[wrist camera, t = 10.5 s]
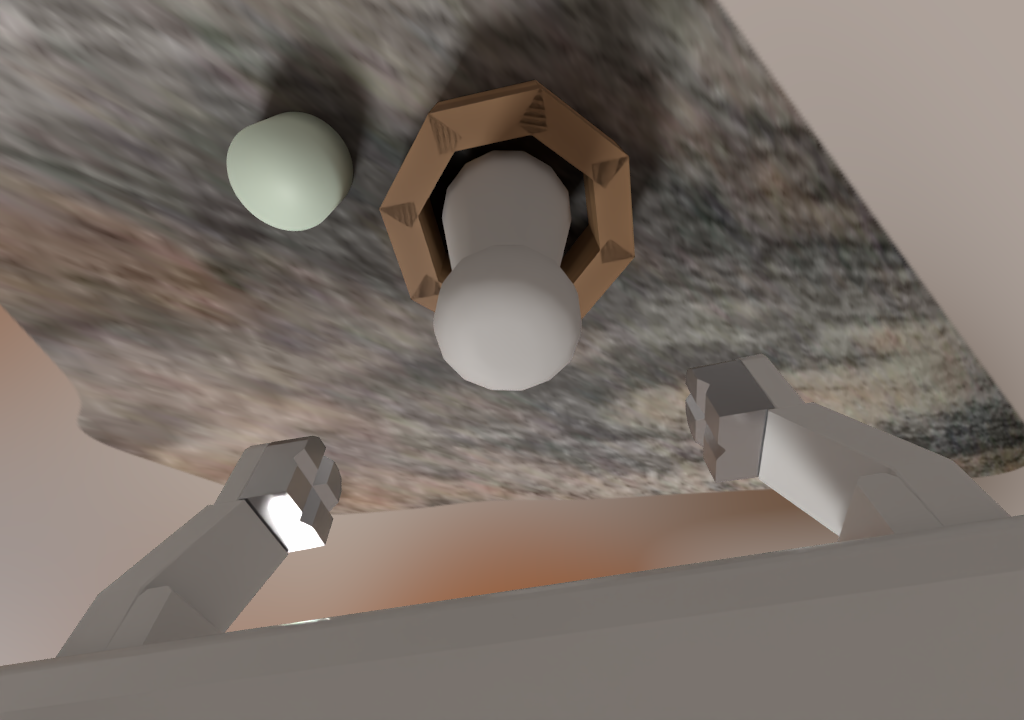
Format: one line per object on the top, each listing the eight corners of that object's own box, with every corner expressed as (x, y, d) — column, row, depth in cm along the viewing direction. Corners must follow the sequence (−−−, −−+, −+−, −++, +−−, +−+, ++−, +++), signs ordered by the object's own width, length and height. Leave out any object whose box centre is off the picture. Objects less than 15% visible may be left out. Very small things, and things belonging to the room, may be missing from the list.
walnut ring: (371, 116, 22) (351, 130, 19) (606, 62, 21) (623, 68, 18) (437, 318, 28) (429, 352, 25) (623, 284, 27) (638, 315, 24)
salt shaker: (570, 141, 22) (633, 246, 12) (560, 258, 26) (602, 424, 15) (443, 138, 22) (389, 241, 12) (449, 256, 26) (411, 422, 15)
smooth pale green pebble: (238, 123, 22) (205, 135, 19) (331, 101, 21) (308, 110, 19) (283, 218, 24) (259, 239, 22) (367, 199, 24) (351, 219, 21)
